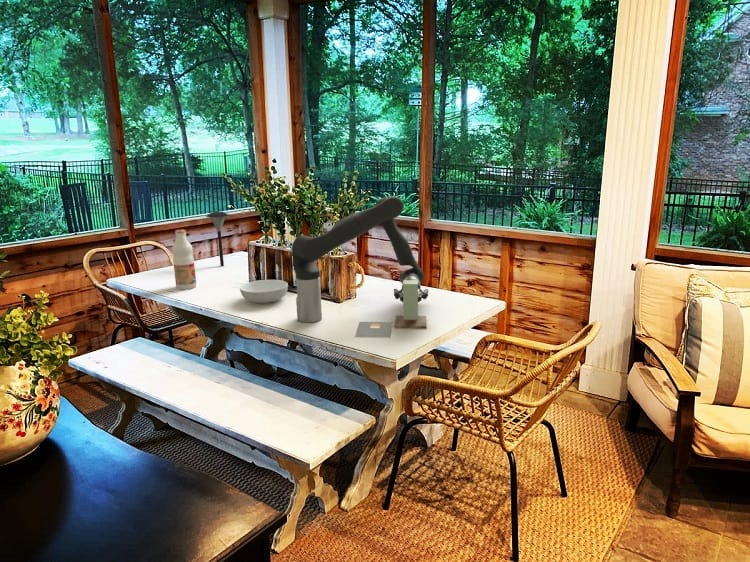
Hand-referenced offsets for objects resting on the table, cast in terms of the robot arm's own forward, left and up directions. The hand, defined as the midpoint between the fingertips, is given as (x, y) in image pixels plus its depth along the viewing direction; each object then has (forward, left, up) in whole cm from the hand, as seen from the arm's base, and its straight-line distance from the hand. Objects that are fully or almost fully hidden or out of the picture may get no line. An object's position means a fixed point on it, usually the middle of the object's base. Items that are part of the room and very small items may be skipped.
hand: (410, 299), depth 214 cm
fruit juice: (-109, +52, -11) cm, 121 cm away
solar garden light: (-106, +95, -11) cm, 142 cm away
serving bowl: (-65, +32, -11) cm, 73 cm away
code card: (-14, -5, -10) cm, 18 cm away
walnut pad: (0, +3, -10) cm, 11 cm away
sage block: (0, +3, -8) cm, 8 cm away
